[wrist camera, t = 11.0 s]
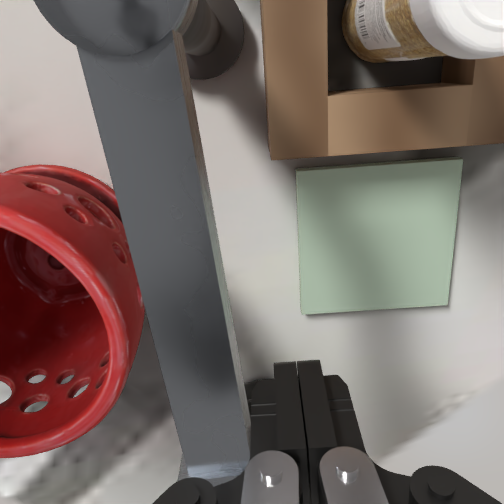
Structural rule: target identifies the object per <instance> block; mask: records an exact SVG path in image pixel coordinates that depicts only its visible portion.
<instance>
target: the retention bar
mask: <svg viewBox="0 0 504 504" xmlns="http://www.w3.org/2000/svg"><path fill="white" fill-rule="evenodd" d="M34 2H35V4H36V5H37V7H38V9H39V10H40V12H41V13H42V15H43V16H44V17H45V19H46V20H47V21H48V22H49V23H50V24H51V26H52V27H53V28H54V29H55V30H56V31H57V32H59V33H60V34H61V35H62V36H63V37H64V38H66V39H67V40H69V41H70V42H72V43H73V44H75V45H76V46H77V49H78V53H79V57H80V61H81V65H82V69H83V72H84V76H85V80H86V84H87V88H88V92H89V95H90V99H91V103H92V107H93V111H94V115H95V118H96V122H97V126H98V130H99V134H100V138H101V141H102V145H103V149H104V153H105V157H106V160H107V164H108V168H109V172H110V176H111V180H112V183H113V187H114V191H115V195H116V199H117V203H118V206H119V210H120V214H121V218H122V222H123V226H124V229H125V233H126V237H127V241H128V245H129V249H130V252H131V256H132V260H133V264H134V268H135V272H136V275H137V279H138V283H139V287H140V291H141V295H142V298H143V302H144V306H145V310H146V314H147V318H148V321H149V325H150V329H151V333H152V337H153V341H154V344H155V348H156V352H157V356H158V360H159V363H160V367H161V371H162V375H163V379H164V383H165V386H166V390H167V394H168V398H169V402H170V406H171V409H172V413H173V417H174V421H175V425H176V429H177V432H178V436H179V440H180V444H181V448H182V452H183V454H182V460H181V465H180V471H179V477H178V481H180V480H182V479H185V478H190V477H198V478H203V479H205V480H207V481H209V482H210V483H211V484H212V485H213V487H214V486H217V485H220V484H223V483H226V482H228V481H230V480H233V479H234V478H236V477H237V476H239V475H240V474H241V473H242V472H243V471H244V470H245V468H246V466H247V464H248V462H249V459H250V442H251V420H250V415H249V409H248V403H247V398H246V392H245V386H244V381H243V375H242V369H241V364H240V358H239V352H238V347H237V341H236V336H235V330H234V324H233V319H232V313H231V307H230V302H229V296H228V290H227V285H226V279H225V273H224V268H223V262H222V257H221V251H220V245H219V240H218V234H217V228H216V223H215V217H214V211H213V206H212V200H211V194H210V189H209V183H208V178H207V172H206V166H205V161H204V155H203V149H202V144H201V138H200V132H199V127H198V121H197V115H196V110H195V104H194V99H193V93H192V87H191V82H190V76H189V70H188V65H187V59H186V53H185V48H184V42H183V34H184V33H185V32H186V30H187V29H188V27H189V25H190V23H191V21H192V19H193V17H194V14H195V12H196V8H197V4H198V0H34Z"/></svg>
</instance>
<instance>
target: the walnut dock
mask: <svg viewBox="0 0 504 504" xmlns="http://www.w3.org/2000/svg"><path fill="white" fill-rule="evenodd" d="M260 9H261V26H262V43H263V60H264V77H265V94H266V111H267V128H268V146H269V152H270V156H271V160H284V159H298V158H311V157H324V156H338V155H351V154H365V153H378V152H392V151H405V150H418V149H432V148H445V147H459V146H472V145H486V144H499V143H504V56H499V57H492V58H484V59H460V58H455V57H452V56H449V55H445V56H443V63H442V76H441V83H429V84H416V85H403V86H390V87H377V88H365V89H352V90H339V91H328V51H327V0H260ZM243 38H244V28H243V21H242V17H241V14H240V11H239V8H238V6H237V5H236V3H235V1H234V0H198V4H197V8H196V12H195V14H194V17H193V19H192V21H191V23H190V25H189V27H188V29H187V30H186V32H185V33H184V34H183V42H184V48H185V53H186V59H187V65H188V70H189V76H190V78H192V79H209V78H213V77H216V76H218V75H221V74H222V73H224V72H225V71H227V70H228V69H229V68H230V67H231V66H232V65H233V64H234V62H235V61H236V59H237V58H238V56H239V54H240V51H241V48H242V44H243Z"/></svg>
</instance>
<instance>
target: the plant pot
mask: <svg viewBox="0 0 504 504" xmlns="http://www.w3.org/2000/svg"><path fill="white" fill-rule="evenodd" d="M144 312H145V306H144V302H143V298H142V295H141V291H140V287H139V283H138V279H137V275H136V272H135V268H134V264H133V260H132V256H131V252H130V249H129V245H128V241H127V237H126V233H125V229H124V226H123V222H122V218H121V214H120V210H119V206H118V203H117V199H116V195H115V191H114V190H112V189H111V188H110V187H109V186H107V185H106V184H104V183H103V182H101V181H100V180H98V179H96V178H95V177H93V176H90V175H88V174H86V173H84V172H81V171H78V170H75V169H72V168H68V167H63V166H56V165H30V166H24V167H19V168H15V169H12V170H9V171H7V172H4V173H0V381H2V382H4V383H6V384H7V385H8V386H9V387H10V388H11V390H12V395H11V396H10V398H9V399H8V400H6V401H5V402H3V403H1V404H0V458H14V457H23V456H30V455H35V454H39V453H42V452H46V451H49V450H52V449H55V448H58V447H61V446H63V445H65V444H68V443H70V442H72V441H74V440H76V439H77V438H79V437H81V436H82V435H84V434H86V433H87V432H88V431H90V430H91V429H93V428H94V427H95V426H96V425H98V424H99V423H100V422H101V421H102V420H103V419H104V418H105V416H106V415H107V414H108V413H109V412H110V410H111V409H112V408H113V406H114V405H115V404H116V402H117V400H118V398H119V397H120V395H121V393H122V390H123V388H124V386H125V384H126V381H127V378H128V375H129V372H130V370H131V367H132V364H133V361H134V358H135V355H136V352H137V348H138V345H139V341H140V337H141V332H142V327H143V321H144ZM36 375H45V376H46V377H45V379H44V380H43V381H41V382H39V383H35V384H33V383H29V382H28V381H29V379H31V378H32V377H33V376H36ZM70 375H74V377H73V378H72V379H71V381H69V382H68V383H65V384H60V383H61V382H62V380H63V379H65V378H66V377H68V376H70ZM87 384H89V385H88V386H87V388H86V390H85V391H83V392H82V393H81V394H80V395H78V396H77V397H74V395H75V394H76V393H77V391H78V390H79V389H81V388H82V387H83V386H85V385H87ZM73 397H74V398H73ZM40 401H47V402H48V404H47V405H46V406H45V407H44V408H43V409H41V410H39V411H37V412H24V411H25V409H26V408H27V407H28V406H30V405H31V404H33V403H36V402H40Z"/></svg>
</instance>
